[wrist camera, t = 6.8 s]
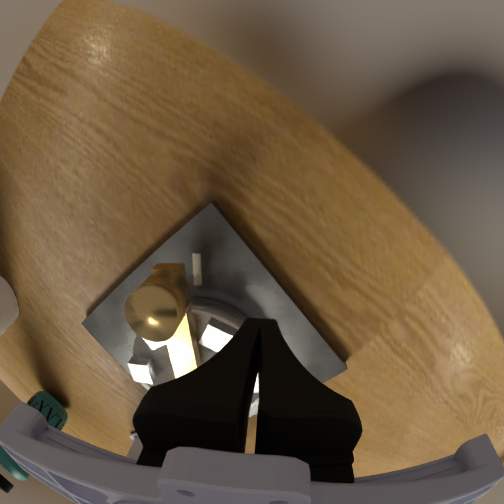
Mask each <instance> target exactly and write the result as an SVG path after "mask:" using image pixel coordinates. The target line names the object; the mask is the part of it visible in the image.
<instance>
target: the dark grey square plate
mask: <svg viewBox="0 0 504 504" xmlns="http://www.w3.org/2000/svg"><path fill="white" fill-rule="evenodd" d="M157 263H184V264H185V271H186V278H187V281H188V283H189V284H190V286H191V289H192V293H193V297H195V298H205V299H210V300H214V301H217V302H221V303H223V304H225V305H228V306H230V307H232V308H234V309H235V310H237V311H239V312H240V313H241V314H243V315H244V316H246V317H247V318H264V319H275V320H276V321H277V323H278V326H279V329H280V331H281V333H282V335H283V337H284V339H285V341H286V342H287V344H288V346H289V347H290V349H291V350H292V352H293V353H294V355H295V356H296V357H297V359H298V360H299V361H300V362H301V364H302V365H303V366H304V367H305V368H306V369H307V370H308V371H309V372H310V373H311V374H312V375H313V376H314V377H315V378H317V379H318V380H319V381H320V382H321V383H324V382H325V381H327V380H329V379H331V378H333V377H335V376H336V375H338V374H340V373H342V372H344V371H345V370H347V369H348V368H347V364H346V362H345V361H344V359H343V358H342V357H341V356H340V354H339V353H338V352H337V351H336V349H335V348H334V347H333V346H332V344H331V343H330V342H329V341H328V340H327V338H326V337H325V336H324V335H323V333H322V332H321V331H320V330H319V328H318V327H317V326H316V325H315V323H314V322H313V321H312V320H311V319H310V317H309V316H308V315H307V314H306V312H305V311H304V310H303V309H302V307H301V306H300V305H299V304H298V303H297V301H296V300H295V299H294V298H293V296H292V295H291V294H290V293H289V292H288V290H287V289H286V288H285V287H284V285H283V284H282V283H281V282H280V280H279V279H278V278H277V277H276V276H275V274H274V273H273V272H272V271H271V269H270V268H269V267H268V266H267V265H266V263H265V262H264V261H263V260H262V258H261V257H260V256H259V255H258V253H257V252H256V251H255V250H254V249H253V247H252V246H251V245H250V244H249V242H248V241H247V240H246V239H245V238H244V236H243V235H242V234H241V233H240V231H239V230H238V229H237V228H236V227H235V225H234V224H233V223H232V222H231V220H230V219H229V218H228V217H227V216H226V214H225V213H224V212H223V211H222V209H221V208H220V207H219V206H218V205H217V203H216V202H215V201H213V202H211V203H210V204H209V205H207V206H206V207H205V208H204V209H203V210H202V211H200V212H199V213H198V214H197V215H196V216H195V217H193V218H192V219H191V220H190V221H189V222H188V223H186V224H185V225H184V226H183V227H182V228H181V229H180V230H178V231H177V232H176V233H175V234H174V235H173V236H172V237H170V238H169V239H168V240H167V241H166V242H165V243H164V244H163V245H162V246H160V247H159V248H158V249H157V250H156V251H155V252H154V253H153V254H152V255H151V256H149V257H148V258H147V259H146V260H145V261H144V262H143V263H142V264H141V265H140V266H139V267H138V268H137V269H136V270H134V271H133V272H132V273H131V274H130V275H129V276H128V277H127V278H126V279H125V280H124V281H123V282H122V283H121V284H120V285H119V286H118V287H117V288H116V289H115V290H114V291H113V292H112V293H111V294H110V295H109V296H108V297H107V298H106V299H105V300H104V301H103V302H102V303H101V304H100V305H99V306H98V307H97V308H96V309H95V310H94V311H93V312H92V313H91V314H90V315H89V316H88V317H87V318H86V319H85V320H84V321H83V322H82V325H83V326H84V327H85V328H86V329H87V330H88V331H89V333H90V334H91V335H92V336H93V337H94V338H95V339H96V340H97V341H98V342H99V344H100V345H101V346H102V347H103V348H104V349H105V350H106V351H107V352H108V353H109V354H110V355H111V356H112V357H113V358H114V359H115V360H116V361H117V362H118V363H119V364H120V365H121V366H122V367H123V368H124V369H125V370H126V371H127V372H128V373H129V374H130V375H131V376H132V374H131V372H130V369H129V366H128V364H127V363H128V362H129V360H130V359H131V357H132V356H133V344H134V340H135V337H136V335H137V334H136V333H135V332H134V331H133V330H132V329H131V327H130V326H129V324H128V323H127V321H126V318H125V314H124V305H125V302H126V300H127V298H128V297H129V296H130V295H131V294H132V293H133V292H134V291H135V290H136V289H137V288H138V287H139V286H140V285H141V284H142V283H143V282H144V281H145V280H146V279H147V278H148V277H149V276H150V275H151V274H152V272H151V269H152V268H153V267H154V266H155V265H156V264H157ZM139 383H140V384H141V385H142V386H143V387H145V388H146V389H147V390H149V389H150V387H149V386H148V385H147V384H146V383H143V382H139ZM258 402H259V398H258V399H257V400H256V401H255V402H254V403H252V404H251V407H250V412H249V417H251V416H253V415H255V414H257V413H258Z"/></svg>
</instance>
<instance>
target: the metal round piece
mask: <svg viewBox="0 0 504 504" xmlns="http://www.w3.org/2000/svg"><path fill="white" fill-rule="evenodd" d="M151 272H152V274H151V275H150V276H149V277H148V278H147V279H146V280H145V281H144V282H143V283H142V284H141V285H140V286H139V287H138V288H137V289H136V290H135V291H134V292H133V293H132V294H131V295H130V296H129V297H128V298H127V300H126V302H125V305H124V314H125V318H126V321H127V323H128V324H129V326H130V327H131V329H132V330H133V331H134V332H135V333H136V334H137V335H136V337H135V340H134V344H133V356H132V357H131V359H130V360H129V362H128V363H127V364H128V366H129V369H130V372H131V374H132V377H133V380H134V381H137V382H143V383H146V384H147V385H148V386H149V387H152V386H156V385H159V384H162V383H165V382H168V381H171V380H173V379H176V378H178V377H180V376H183V375H185V374H187V373H189V372H190V371H192V370H194V369H196V368H197V367H199V366H200V365H202V364H203V363H205V362H206V361H208V360H209V359H210V358H211V357H213V356H214V355H215V354H216V353H217V352H218V351H219V350H221V349H222V348H223V347H224V346H225V345H226V344H227V343H228V341H229V340H230V339H231V338H232V337H233V336H234V334H235V333H236V332H237V331H238V329H239V328H240V327H241V325H242V324H243V322H244V320H245V319H246V318H247V317H246V316H244V315H243V314H241V313H240V312H239V311H237V310H235V309H234V308H232V307H230V306H228V305H225V304H223V303H221V302H217V301H214V300H210V299H205V298H195V297H193V293H192V289H191V286H190V284H189V283H188V281H187V278H186V271H185V264H184V263H157V264H156V265H155V266H154V267H153V268H152V269H151ZM258 398H259V392H258V374H257V379H256V384H255V389H254V393H253V398H252V402H251V404H252V403H254V402H255V401H256V400H257V399H258Z"/></svg>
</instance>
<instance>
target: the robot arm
mask: <svg viewBox="0 0 504 504" xmlns="http://www.w3.org/2000/svg"><path fill="white" fill-rule="evenodd" d="M257 374H258V392H259V402H258V413H257V429H256V444H255V454H247V453H245V445H246V436H247V427H248V418H249V412H250V407H251V402H252V398H253V393H254V389H255V384H256V379H257ZM132 421H133V425H134V428H135V430H136V433H132V434H130V436H129V437H130V438H131V439H132V440H134V442H133V444H132V446H131V448H130V450H129V452H128V455H127V457H125V456H122V455H119V454H116V453H113V452H110V451H107V450H105V449H102V448H99V447H97V446H94V445H92V444H89V443H87V442H85V441H82V440H80V439H78V438H75V437H73V436H71V435H69V434H67V433H64V432H62V431H60V430H58V429H56V428H54V427H52V426H50V425H48V422H47V421H46V419H45V417H44V416H43V415H42V414H41V413H40V412H39V411H38V410H36V409H35V408H33V407H31V406H29V405H27V404H26V403H24V402H20V403H19V404H18V405H17V407H16V408H15V409H14V410H13V411H12V413H11V414H10V415H9V416H8V417H7V419H6V420H5V421H4V422H3V424H2V425H1V426H0V445H1V446H2V447H3V448H4V450H5V451H6V452H7V453H8V454H9V455H10V456H11V457H12V458H13V459H14V461H15V462H16V463H17V464H18V465H19V466H20V467H21V468H22V469H23V470H25V471H26V472H27V473H29V474H30V475H32V476H33V477H35V478H37V479H38V480H39V481H41V482H42V483H44V484H45V485H47V486H48V487H50V488H52V489H53V490H55V491H56V492H58V493H60V494H61V495H63V496H65V497H66V498H68V499H70V500H71V501H73V502H75V503H77V504H473V503H474V502H476V501H477V500H478V499H479V498H481V497H482V496H483V495H485V494H486V493H487V492H488V491H489V490H490V489H492V488H493V487H494V486H495V485H496V484H497V483H499V482H500V481H501V480H502V479H503V478H504V467H503V465H502V463H501V461H500V459H499V457H498V455H497V453H496V451H495V449H494V447H493V445H492V443H491V441H490V439H489V437H488V435H487V434H483V435H481V436H478V437H476V438H473V439H471V440H468V441H467V442H465V443H464V444H462V445H461V446H460V447H459V448H458V450H457V451H456V452H455V454H453V455H450V456H447V457H444V458H441V459H438V460H435V461H432V462H428V463H425V464H421V465H418V466H414V467H410V468H406V469H402V470H397V471H392V472H388V473H382V474H377V475H371V476H365V477H358V478H354V474H353V468H352V463H353V462H354V457H353V450H354V448H355V446H356V445H357V443H358V441H359V439H360V437H361V434H362V431H363V430H362V425H361V421H360V417H359V415H358V413H357V410H356V408H355V406H354V404H353V402H352V401H351V400H349V399H347V398H345V397H344V396H342V395H340V394H338V393H336V392H334V391H333V390H331V389H330V388H328V387H327V386H325V385H324V384H323V383H321V382H320V381H319V380H318V379H317V378H315V377H314V376H313V375H312V374H311V373H310V372H309V371H308V370H307V369H306V368H305V367H304V366H303V365H302V364H301V362H300V361H299V360H298V359H297V357H296V356H295V355H294V353H293V352H292V350H291V349H290V347H289V346H288V344H287V342H286V341H285V339H284V337H283V335H282V333H281V331H280V329H279V326H278V323H277V321H276V320H275V319H264V318H246V319H245V320H244V322H243V324H242V325H241V327H240V328H239V329H238V331H237V332H236V333H235V334H234V336H233V337H232V338H231V339H230V340H229V341H228V343H227V344H226V345H225V346H224V347H223V348H222V349H221V350H219V351H218V352H217V353H216V354H215V355H214V356H213V357H211V358H210V359H209V360H208V361H206V362H205V363H203V364H202V365H200V366H199V367H197V368H196V369H194V370H192V371H190V372H189V373H187V374H185V375H183V376H180V377H178V378H176V379H173V380H171V381H168V382H165V383H162V384H159V385H156V386H152V387H150V389H149V390H148V392H147V393H146V394H145V396H144V397H143V399H142V400H141V402H140V404H139V406H138V408H137V410H136V412H135V414H134V416H133V420H132Z"/></svg>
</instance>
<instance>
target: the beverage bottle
mask: <svg viewBox="0 0 504 504" xmlns="http://www.w3.org/2000/svg"><path fill="white" fill-rule="evenodd" d="M32 397H33V398H31V399H29V401H28V402H27V403H28V404H27V403H26V404H27V405H29V406H31V407H33V408H35V409H36V410H38V411H39V412H40V413H41V414H42V415H43V416H44V417H45V419H46V421H47V422H48V425H50V426H52V427H54V428H56V429H58V430H60V431H61V429H62V427H63V426H64V424H66V421H67V418H68V415H67V412H66V411H65V409H64V408H63V407H62V405H61V404H60V403H59V402H58V401H57V400H56V399H55V398H53V397H52V396H51V395H49V394H48V393H46V392H44V391H39V392H36V394H35V395H34V396H32ZM0 466H1V467H2V468H4V469H5V470H6V471H7V472H8V473H9V474H11V475H12V476H13V477H14V478H16V479H17V480H28V477H29V475H30V474H29V473H27V472H26V471H25V470H23V469H22V468H21V467H20V466H19V465H18V464H17V463H16V462H15V461H14V459H13V458H12V457H11V456H10V455H9V454H8V453H7V452H6V451H5V450H4V448H3V447H2V446H1V445H0ZM12 488H13V485H12V484H11V483H10V482H9V481H8V480H7V479H6V478H4V477H3V476H2V475H1V474H0V489H2V490H3V491H4V492H6V493H8V492H9V491H10V490H11V489H12Z"/></svg>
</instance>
